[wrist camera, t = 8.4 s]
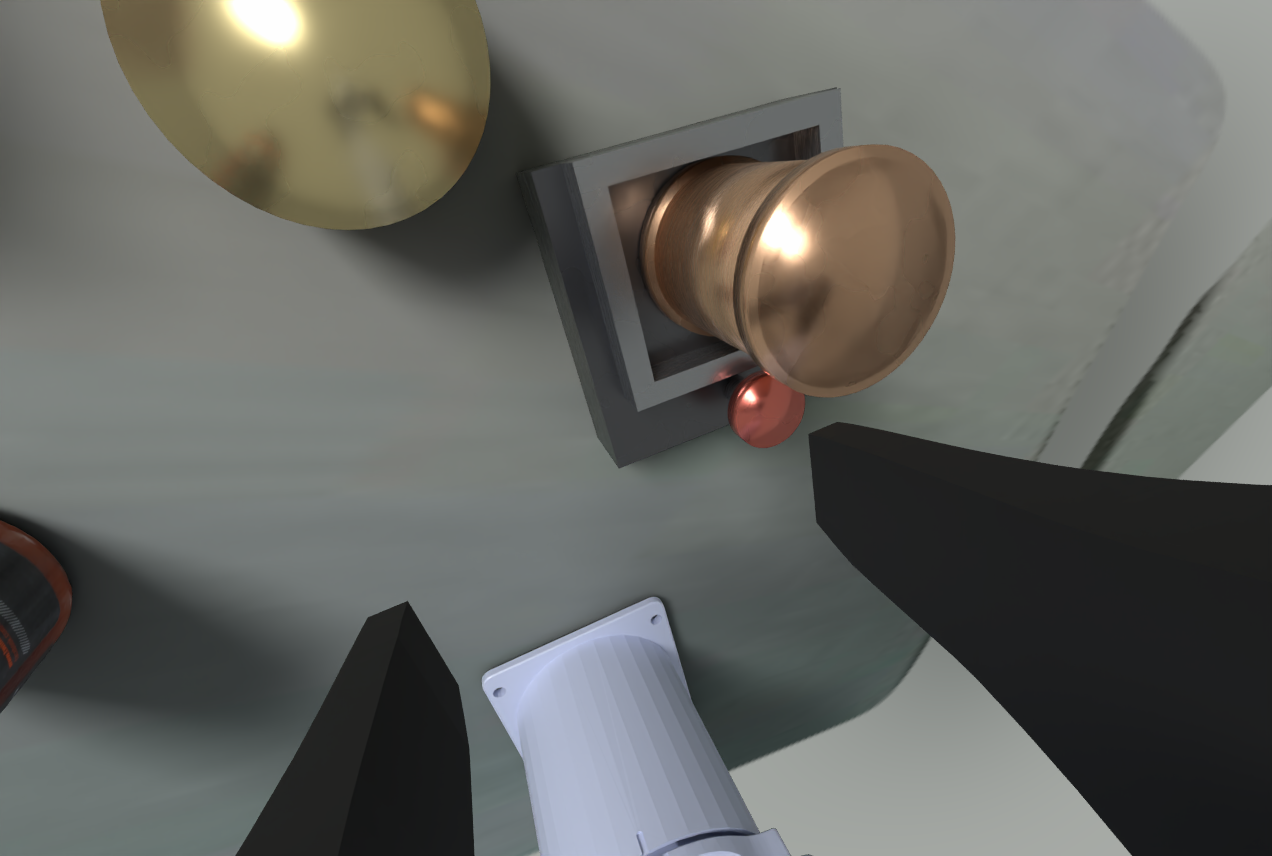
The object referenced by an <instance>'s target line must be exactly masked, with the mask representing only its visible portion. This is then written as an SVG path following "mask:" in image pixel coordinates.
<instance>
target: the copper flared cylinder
mask: <svg viewBox="0 0 1272 856" xmlns="http://www.w3.org/2000/svg"><path fill="white" fill-rule="evenodd" d="M954 254H955V228H954V219H953V214H952V209H951V205H950V202H949V199H948V196H947V194H946V192H945V190H944V188H943V186H942V184H941V182H940V180H939V179H938V177H937V176H936V174H935V173H934V172H933V170H932V169H931V168H930V167H929V166H928V165H927V164H926V163H925V162H924V161H923V160H921V159H920V158H918V157H917V156H915V155H914V154H912V153H910V152H908V151H906V150H903V149H901V148H898V147H893V146H889V145H859V146H848V147H841V148H835V149H832V150H829V151H825V152H822V153H820V154H818V155H816V156H814V157H812V158H810V159H808V160H795V161H774V162H761V161H758V160H756V159H753V158H750V157H745V156H737V155H727V156H716V157H709V158H705V159H702V160H699V161H696V162H694V163H692V164H690V165H688V166H686V167H685V168H683V169H682V170H680V171H679V172H678V173H676V174H675V175H674V176H673V177H672V178H671V179H670V180H669V181H668V182H667V183H666V184H665V185H664V186H663V187H662V189H661V190H660V191H659V193H658V194H657V196H656V197H655V199H654V201H653V203H652V204H651V206H650V208H649V210H648V213H647V216H646V218H645V221H644V225H643V229H642V233H641V239H640V266H641V272H642V276H643V281H644V283H645V286H646V289H647V291H648V293H649V295H650V297H651V299H652V300H653V302H654V303H655V305H656V306H657V307H658V309H659V310H660V311H661V312H662V313H663V314H664V315H665V316H666V317H668V318H669V319H670V320H672V321H673V322H675V323H676V324H678V325H680V326H682V327H684V328H685V329H687V330H689V331H691V332H694V333H697V334H700V335H705V336H715V337H717V338H719V339H720V340H722V341H724V342H726V343H728V344H730V345H732V346H734V347H735V348H737V349H739V350H741V351H743V352H745V353H747V354H748V355H750V356H751V358H752V359H753V361H754V362H755V363H756V364H757V365H758V366H759V367H760V368H761V369H762V370H763V371H764V372H765V373H767V374H768V375H769V376H770V377H772V378H774V379H776V380H777V381H779V382H781V383H783V384H784V385H786V386H788V387H790V388H792V389H793V390H795V391H797V392H800V393H803V394H806V395H809V396H815V397H839V396H845V395H848V394H852V393H856V392H858V391H861V390H863V389H865V388H868V387H870V386H872V385H873V384H875V383H877V382H879V381H880V380H882V379H883V378H885V377H886V376H887V375H889V374H890V373H892V372H893V371H894V370H895V369H896V368H897V367H898V366H900V365H901V364H902V363H903V362H904V361H905V360H906V359H907V358H908V357H909V356H910V354H911V353H912V352H913V351H914V350H915V349H916V347H917V346H918V345H919V343H920V342H921V341H922V340H923V338H924V336H925V335H926V333H927V332H928V330H929V329H930V327H931V325H932V324H933V322H934V320H935V318H936V316H937V314H938V312H939V310H940V307H941V305H942V303H943V300H944V298H945V295H946V292H947V289H948V286H949V282H950V278H951V273H952V269H953V262H954Z"/></svg>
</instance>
